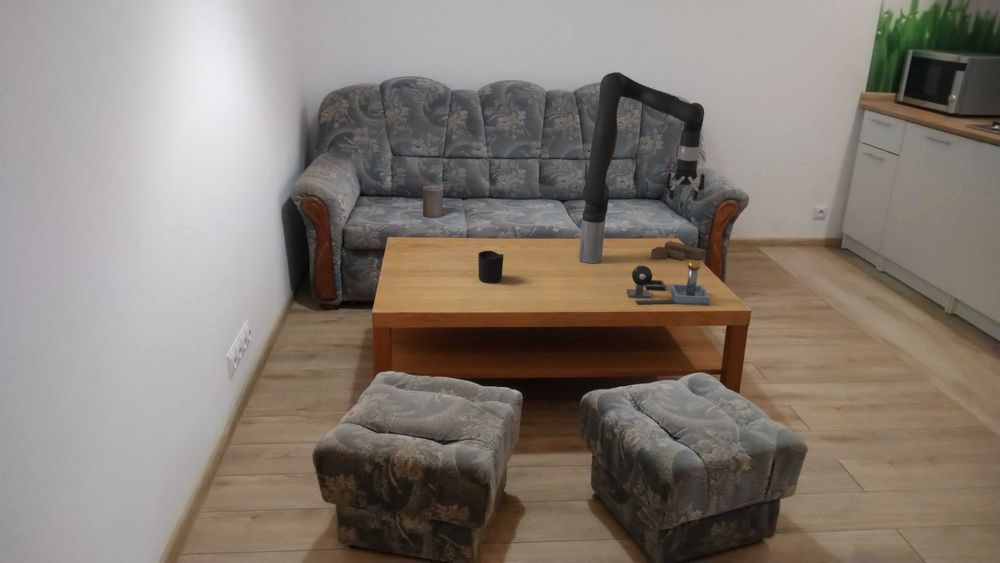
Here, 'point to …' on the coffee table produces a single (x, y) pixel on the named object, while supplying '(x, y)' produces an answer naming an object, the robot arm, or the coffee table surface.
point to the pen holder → (490, 266)
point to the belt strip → (654, 302)
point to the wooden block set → (678, 252)
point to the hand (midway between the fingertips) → (682, 199)
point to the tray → (680, 296)
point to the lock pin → (692, 277)
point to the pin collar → (655, 282)
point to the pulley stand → (640, 282)
